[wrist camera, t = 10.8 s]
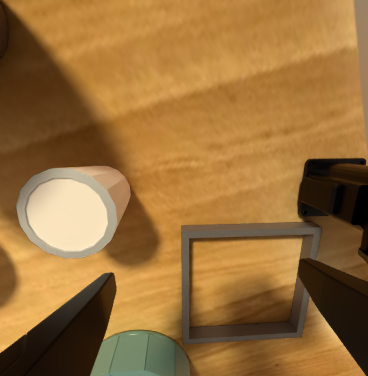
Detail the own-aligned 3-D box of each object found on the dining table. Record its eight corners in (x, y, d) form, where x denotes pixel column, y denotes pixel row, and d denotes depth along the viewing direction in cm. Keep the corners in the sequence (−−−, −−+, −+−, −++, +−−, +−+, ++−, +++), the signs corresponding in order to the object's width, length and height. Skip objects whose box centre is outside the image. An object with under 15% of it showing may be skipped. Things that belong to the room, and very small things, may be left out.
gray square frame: (312, 221, 22) (322, 227, 20) (294, 326, 25) (301, 337, 24) (181, 225, 21) (181, 231, 19) (182, 332, 25) (182, 344, 23)
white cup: (82, 226, 20) (36, 267, 14) (61, 166, 19) (-3, 178, 12) (143, 214, 20) (127, 250, 14) (127, 153, 19) (100, 158, 12)
